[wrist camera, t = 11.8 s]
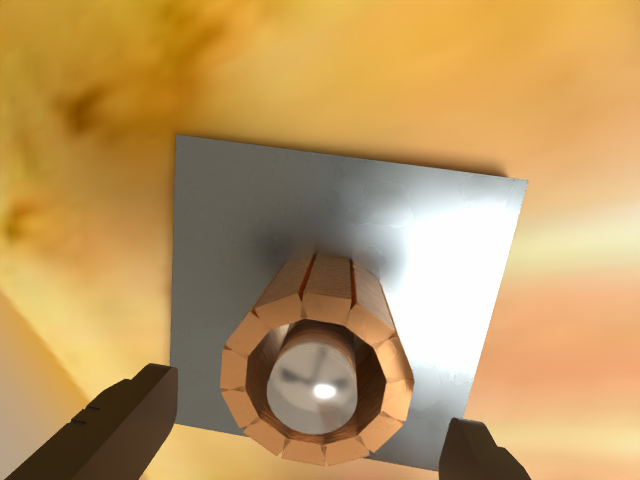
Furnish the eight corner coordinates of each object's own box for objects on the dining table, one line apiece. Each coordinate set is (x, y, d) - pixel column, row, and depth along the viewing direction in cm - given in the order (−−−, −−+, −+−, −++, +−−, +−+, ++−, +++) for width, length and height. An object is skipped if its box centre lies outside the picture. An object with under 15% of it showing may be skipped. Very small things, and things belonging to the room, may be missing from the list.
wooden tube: (266, 245, 15) (227, 280, 10) (401, 266, 14) (430, 312, 9) (255, 364, 16) (215, 445, 11) (377, 385, 16) (392, 479, 11)
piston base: (191, 138, 15) (69, 107, 9) (510, 179, 14) (656, 182, 8) (182, 403, 19) (89, 533, 12) (439, 449, 18) (496, 616, 11)
